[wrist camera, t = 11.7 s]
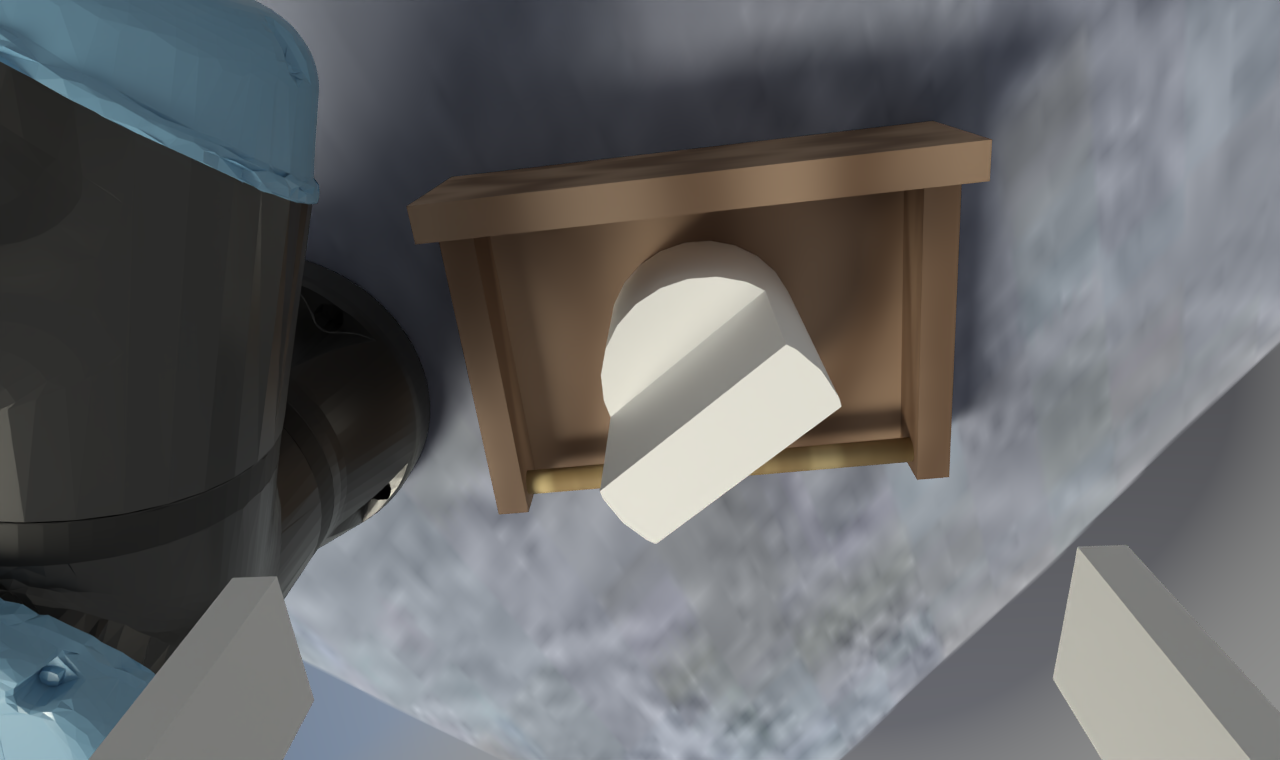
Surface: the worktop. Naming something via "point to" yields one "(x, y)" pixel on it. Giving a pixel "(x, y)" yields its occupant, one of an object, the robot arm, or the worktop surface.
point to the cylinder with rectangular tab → (702, 382)
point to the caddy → (727, 213)
